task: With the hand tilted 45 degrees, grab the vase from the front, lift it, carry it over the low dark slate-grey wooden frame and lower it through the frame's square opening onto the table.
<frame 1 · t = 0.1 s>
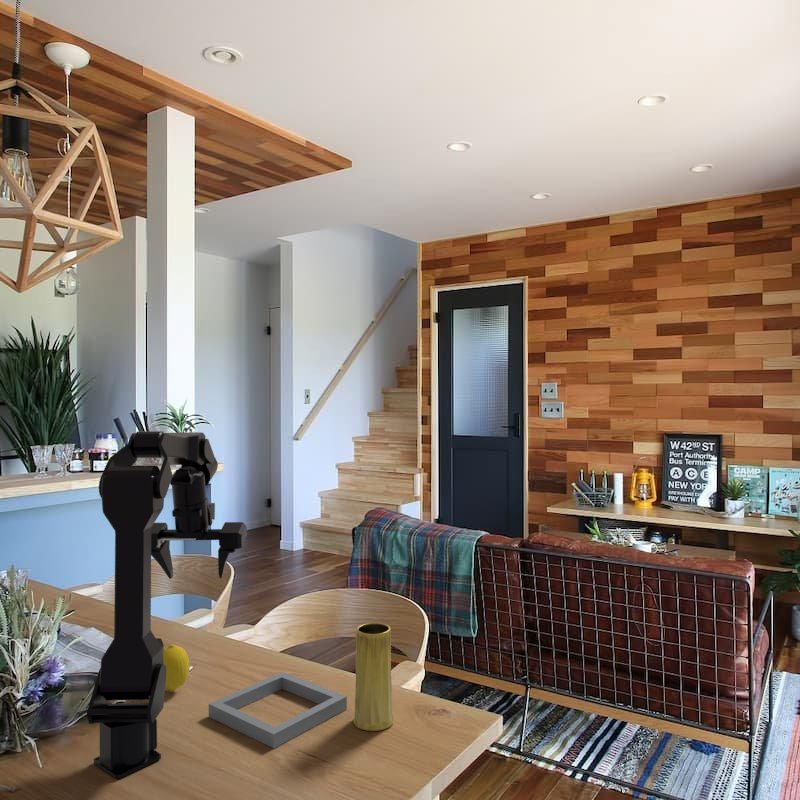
hand: (196, 577, 127), 15 cm above the table, tool pointing down, fingers open, 9 cm apart
stand: (278, 712, 106), on the table
lemon: (172, 693, 114), on the table
vase: (373, 723, 103), on the table
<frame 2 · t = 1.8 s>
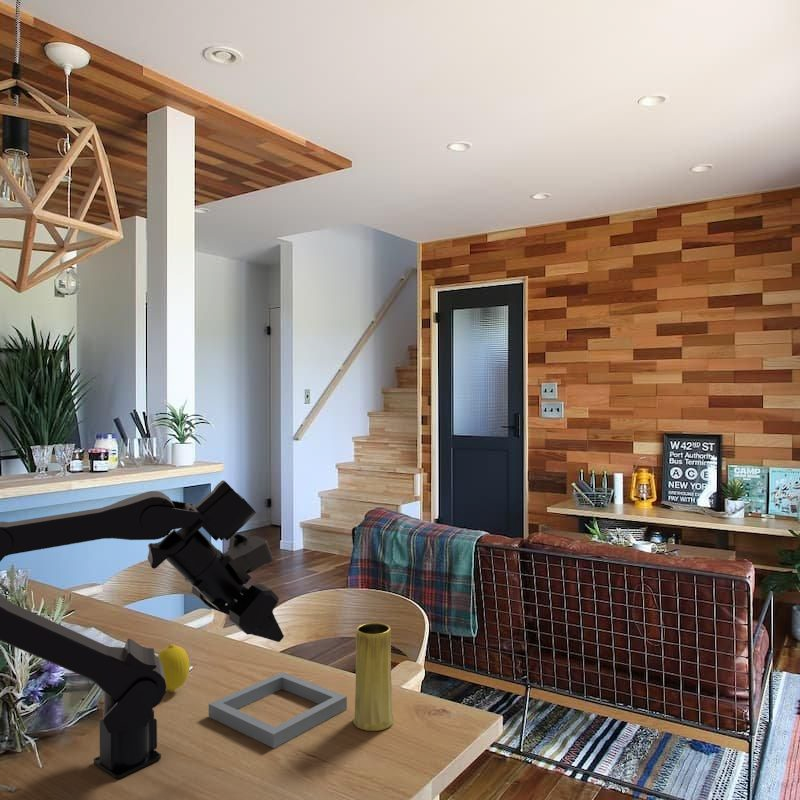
hand: (267, 629, 103), 14 cm above the table, tool tilted 40°, fingers open, 9 cm apart
nothing on the table moved.
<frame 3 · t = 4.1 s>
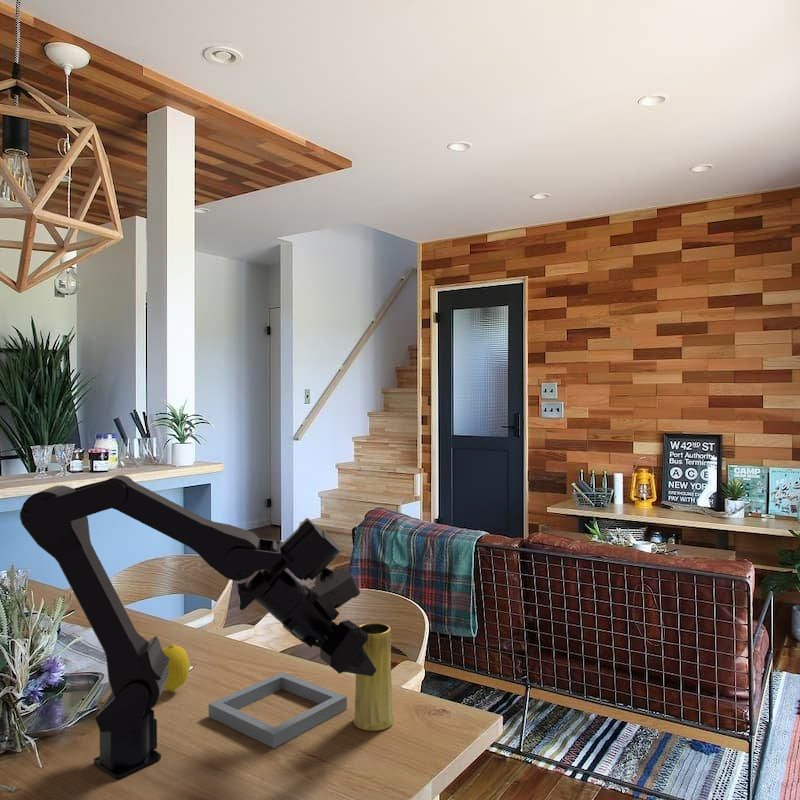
hand: (359, 662, 102), 10 cm above the table, tool tilted 45°, fingers open, 9 cm apart
nothing on the table moved.
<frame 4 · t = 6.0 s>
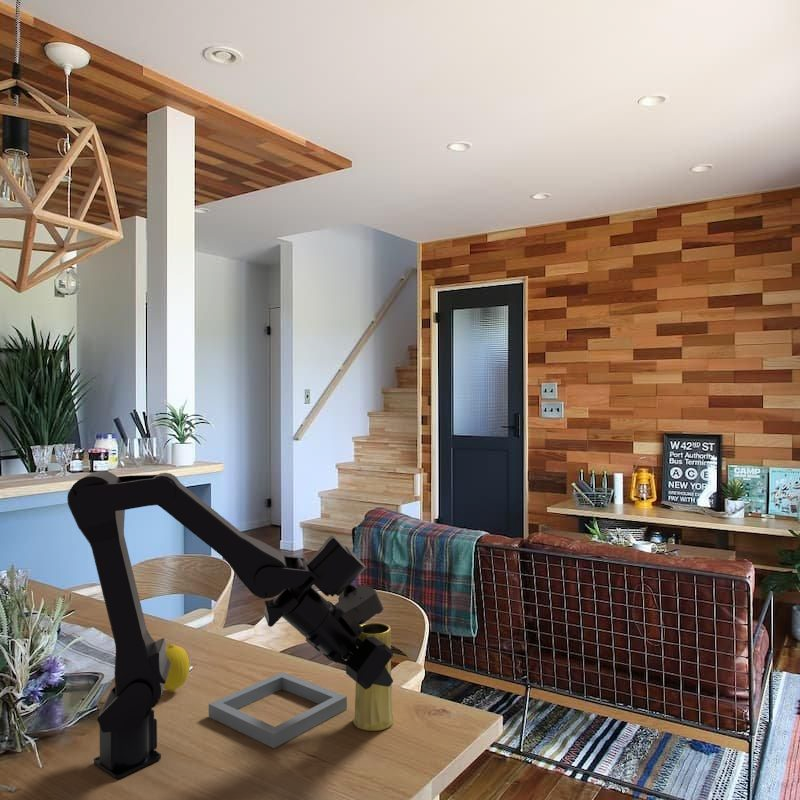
hand: (381, 676, 104), 7 cm above the table, tool tilted 45°, fingers closed on vase, 5 cm apart
vase: (373, 723, 103), on the table, touching gripper
everything else where it was.
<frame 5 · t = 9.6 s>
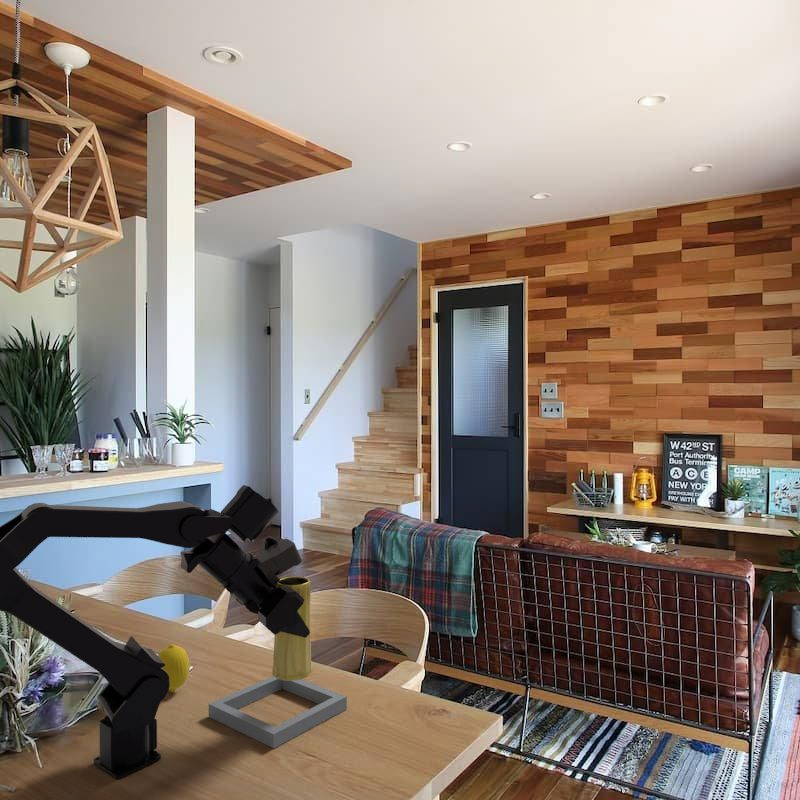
hand: (300, 628, 106), 13 cm above the table, tool tilted 45°, fingers closed on vase, 5 cm apart
vase: (292, 674, 105), point 6 cm above the table, touching gripper
everything else where it was.
when the fingers open (7 cm above the table, at t = 13.5 s): vase stays where it is, resting in stand.
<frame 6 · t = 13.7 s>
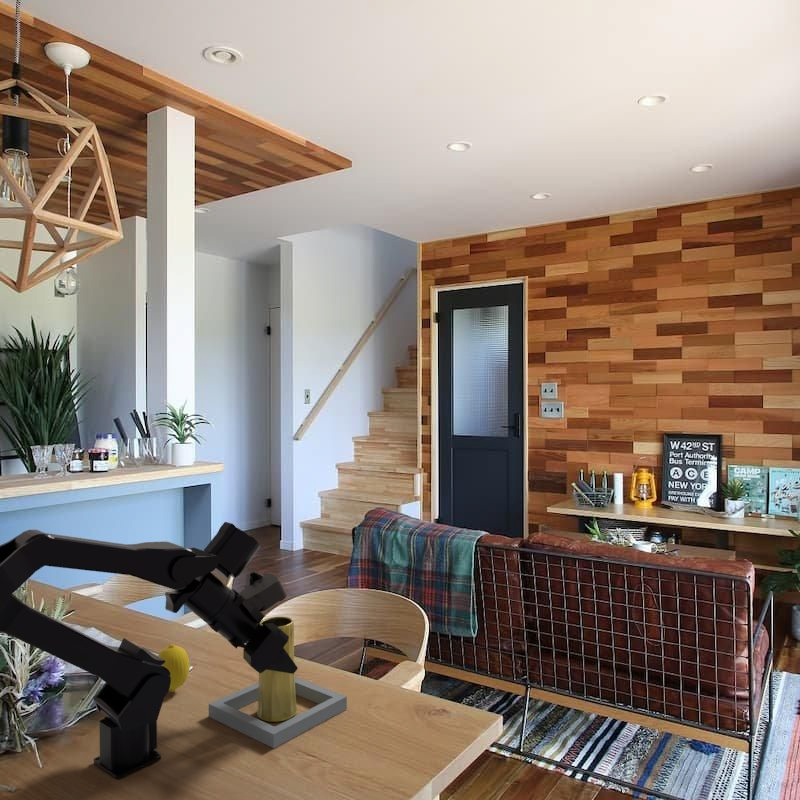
hand: (286, 662, 107), 8 cm above the table, tool tilted 45°, fingers open, 7 cm apart
vase: (277, 714, 106), resting in stand
everything else where it was.
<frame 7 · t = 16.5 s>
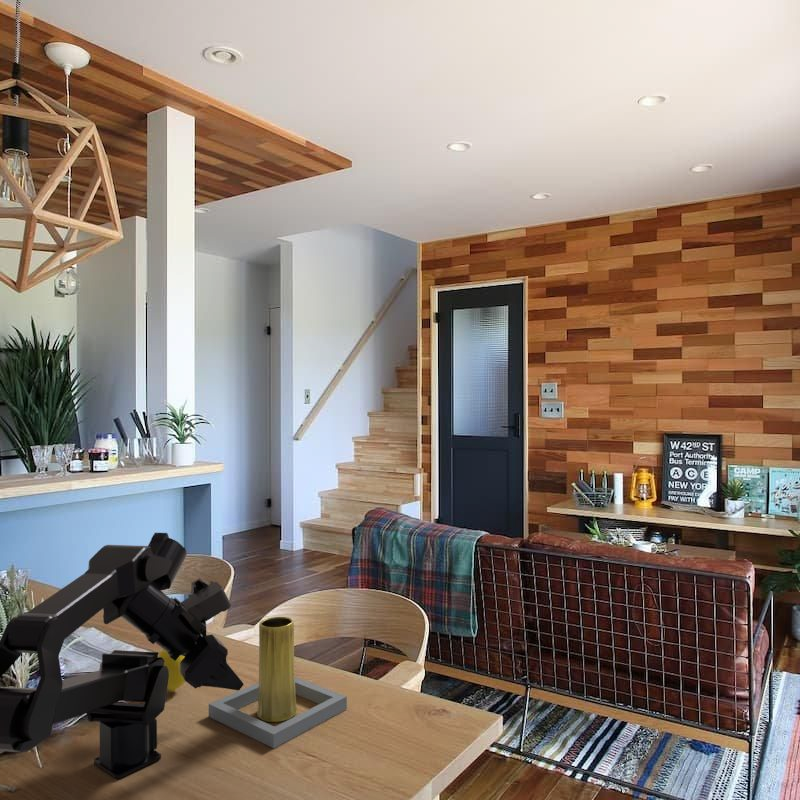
hand: (232, 675, 102), 8 cm above the table, tool tilted 45°, fingers open, 9 cm apart
nothing on the table moved.
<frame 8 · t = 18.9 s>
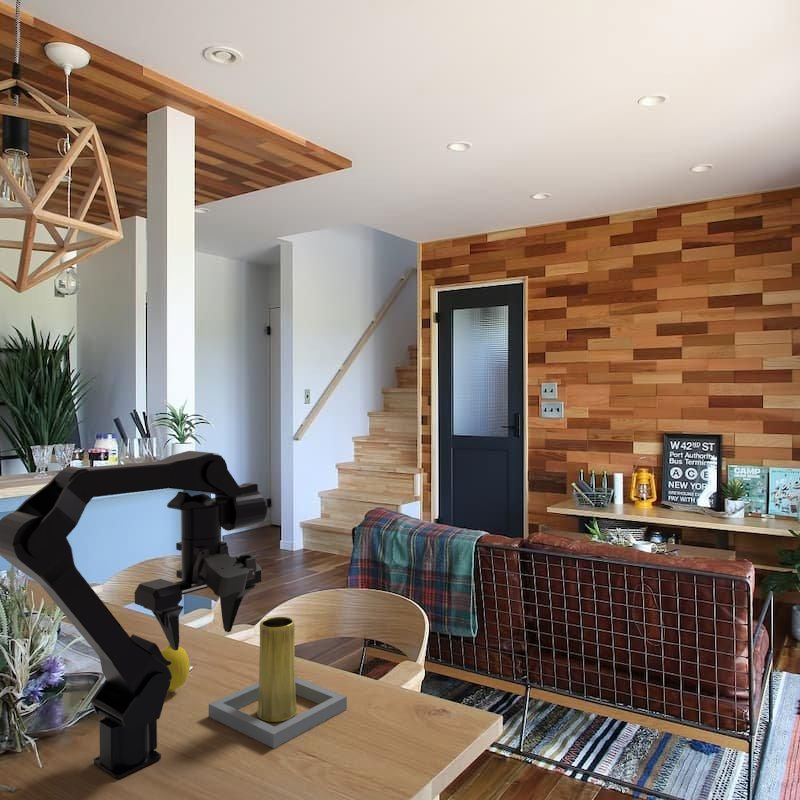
hand: (202, 640, 102), 13 cm above the table, tool pointing down, fingers open, 9 cm apart
nothing on the table moved.
at the end: vase 0.2 cm off-centre on the stand, point 0.0 cm above the stand's base; vase tilted 0°; the gripper is holding nothing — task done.
